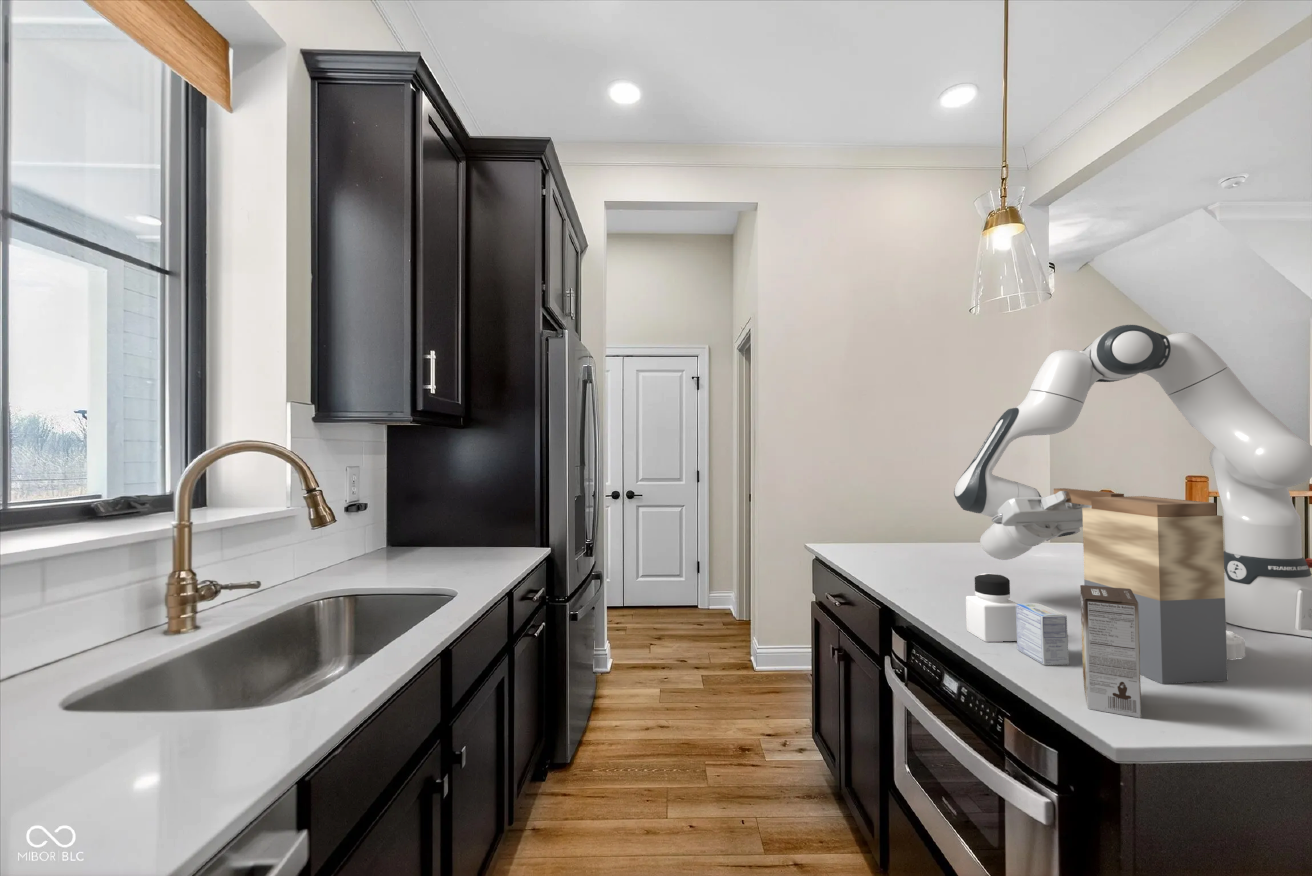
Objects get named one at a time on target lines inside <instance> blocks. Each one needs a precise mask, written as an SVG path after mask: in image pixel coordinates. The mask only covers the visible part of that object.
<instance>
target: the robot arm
mask: <svg viewBox="0 0 1312 876" xmlns="http://www.w3.org/2000/svg"><path fill="white" fill-rule="evenodd" d="M1139 374H1144V375H1147V376H1149V377H1151V378H1152V379H1153V380H1155V381H1156V382H1157V383H1158V385H1160V387H1161V389H1162V390H1163V392H1164V393H1165V394H1166V395H1167V397H1168V398H1169V399H1170V400H1171V402H1172V403H1173V404H1174V405H1175V407H1176V409H1178V411H1179V413H1181V414H1182V416H1183V417H1184V418H1185V420H1186V421H1187V422H1188V424H1189V425H1190V426H1191V427H1192V428H1194V429H1195V430H1196V431H1197V432H1198V433H1200V434H1201V435H1202V436H1204V438H1205V439H1206V440H1208V441H1209V442H1210V444H1212V445H1213V448H1212V449H1211V451H1210V453H1209V463H1210V466H1211V468H1212V469H1213V472H1214V476H1215V482H1216V487H1217V491H1218V495H1219V498H1220V503H1221V507H1222V513H1223V520H1224V521H1223V532H1224V547H1225V548H1224V581H1225V614H1226V623H1228V624H1231V625H1235V626H1239V627H1243V628H1247V629H1251V630H1252V629H1253V630H1258V631H1264V632H1270V633H1271V632H1272V633H1279V634H1288V635H1293V636H1294V635H1295V636H1301V637H1306V638H1307V637H1308V638H1312V571H1311V569H1312V558H1311V557H1307V558H1305V557H1304V556H1303V552H1302V551H1303V550H1302V549H1303V546H1302V545H1303V543H1302V541H1303V540H1302V520H1301V515H1300V514H1299V513H1298V512H1297V510H1296V508H1295V506H1294V504H1293V500H1292V497H1291V493H1290V490H1289V488H1292V487H1295V486H1298V485H1301V484H1303V483H1306V482H1308V481H1309V480H1310V479H1312V445H1311V444H1310V443H1308V442H1307V441H1306V440H1304V439H1303V438H1300V437H1299V436H1298V435H1297V434H1295V433H1294V432H1293V431H1292V430H1291V429H1290V428H1289V427H1288V426H1287V425H1286V424H1284V423H1283V422H1282V421H1281V420H1280V419H1279V418H1278V417H1276V415H1275V414H1273V413H1272V412H1271V411H1269V410H1268V409H1267V407H1265V406H1264V405H1262V403H1260V402H1259V401H1258V400H1257V399H1256V398H1255V396H1253V394H1252V393H1251V392H1250V391H1249V390H1248V389H1247V387H1246V386H1245V385H1244V384H1243V382H1242V381H1241V380H1240V379H1239V378H1238V376H1237V375H1236V374H1235V373H1234V371H1233V370H1232V369H1231V368H1230V366H1228V364H1227V363H1226V362H1225V361H1224V360H1223V359H1222V358H1221V356H1220V355H1219V354H1218V353H1217V352H1215V350H1214V349H1213V348H1211V346H1210V345H1208V344H1207V343H1206V342H1205V341H1204V340H1202V338H1200V337H1198V336H1197V335H1196V334H1193V333H1191V332H1186V331H1185V332H1183V331H1182V332H1175V333H1171V334H1167V335H1164V334H1162V333H1159V332H1157V331H1153V330H1152V329H1149V328H1148V327H1145V326H1142V325H1138V324H1123V325H1118V326H1116V327H1113V328H1111V329H1110V330H1108V331H1106V332H1103V333H1102V334H1101V335H1099V336H1098V337H1096V339H1094V340H1093V341H1092V342H1091V343H1090V344H1089V345H1088V346H1086V347H1085V348H1084V349H1082V350H1075V349H1071V348H1070V349H1066V348H1065V349H1059V350H1055V351H1053V352H1051V353H1050V354H1049V355H1047V357H1046V358H1045V360H1044V361H1043V363H1042V364H1041V366H1040V367H1039V370H1038V371H1037V373H1036V375H1035V377H1034V379H1033V381H1032V383H1031V386H1030V388H1029V390H1028V392H1027V395H1025V397H1024V399H1023V400H1022V402H1021V403H1019V404H1018V405H1017V406H1016V407H1013V408H1008V409H1007V410H1005V411H1004V412H1003V413H1002V415H1001V416H1000V417H999V418H998V419H997V421H996V423H995V424H994V426H992V428H991V430H990V432H989V433H988V435H987V437H986V438H985V439H984V441H983V443H982V445H980V448H979V450H978V451H977V453H976V454H975V456H974V458H973V459H972V461H971V462H970V464H969V465H968V466H967V468H966V469H965V471H964V472H963V473H962V474H961V475H960V477H959V479H958V480H957V481H956V483H955V487H954V490H953V496H954V499H955V501H956V502H957V504H958V505H959V506H960V508H961V509H962V510H963V511H967V512H970V513H974V514H975V513H976V514H980V515H984V516H988V517H990V518H991V522H992V523H991V525H989V527H987V529H986V530H985V531H984V532H983V533H982V534H981V536H980V537H979V538H980V539H979V544H980V546H981V548H982V549H983V551H984V552H985V553H986V554H987V555H989V556H990V557H992V558H994V559H997V560H1000V561H1007V560H1013V559H1016V558H1018V557H1020V556H1021V555H1024V554H1025V553H1027V552H1029V551H1030V550H1032V548H1033V547H1036V546H1038V545H1041V544H1042V543H1044V542H1046V541H1047V542H1048V541H1052V540H1053V539H1055V538H1056V539H1057V538H1061V537H1066V536H1071V535H1076V534H1078V533H1080V532H1081V528H1083V512H1082V508H1092V506H1091V505H1083V504H1075V503H1067V502H1066V501H1068V500H1070V498H1071V496H1070V495H1069V492H1068V491H1059V492H1058V493H1056V494H1054V493H1053V494H1050V495H1048V496H1042V495H1041V493H1040V492H1039V491H1038V489H1037V488H1035V487H1033V486H1029V485H1028V484H1024V483H1021V482H1017V481H1013V480H1010V479H1007V478H1004V477H1000V476H998V475H995V474H993V470H994V469H995V467H996V466H997V465H998V463H999V461H1000V459H1001V457H1002V456H1003V455H1004V453H1005V451H1006V450H1007V448H1008V447H1009V445H1010V444H1011V443H1012V442H1013V441H1014V440H1016V439H1019V438H1023V437H1030V436H1048V435H1055V434H1058V433H1062V432H1065V431H1066V430H1068V429H1070V428H1071V427H1073V426H1074V424H1075V423H1076V421H1077V419H1078V418H1079V416H1080V415H1081V412H1082V409H1083V407H1084V404H1085V402H1086V399H1087V396H1088V394H1089V391H1090V389H1092V387H1093V385H1094V384H1095V383H1111V382H1118V381H1122V380H1123V381H1124V380H1126V379H1130V378H1132V377H1135V376H1137V375H1139Z"/></svg>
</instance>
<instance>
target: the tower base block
mask: <svg viewBox="0 0 1312 876" xmlns="http://www.w3.org/2000/svg"><path fill="white" fill-rule="evenodd" d="M1083 579H1084V578H1083ZM1083 582H1084V584H1083V585H1088V586H1100V587H1109V586H1106V585H1102V584H1099V583H1095V582H1092V581H1088V580H1085V579H1084V581H1083ZM1112 588H1113V587H1112ZM1133 594H1134V593H1133ZM1134 596H1135V598H1136V600H1137V601H1138V603H1139V644H1140V676H1143V677H1144V678H1145V677H1146V678H1147V679H1150V680H1151V681H1155V682H1157V683H1159V684H1161V685H1167V684H1168V685H1169V684H1171V685H1172V684H1173V685H1174V684H1188V683H1187V682H1193V683H1204V682H1203V681H1212V682H1227V681H1228V659H1227V647H1226V630H1227V624H1226V623H1227V622H1226V614H1225V598H1216V599H1192V600H1167V601H1159V600H1155V599H1152V598H1148V597H1145V596H1141V595H1138V594H1134ZM1184 682H1186V683H1184Z"/></svg>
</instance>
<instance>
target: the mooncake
mask: <svg viewBox="0 0 1312 876" xmlns="http://www.w3.org/2000/svg"><path fill="white" fill-rule="evenodd" d="M1226 647H1227V658H1228V659H1233V660H1232V661H1235V660H1237V659H1236V658H1242V659H1243V658H1245V657H1246V640H1245V638H1243V636H1239V634H1237V633H1234V631H1230V630H1227V629H1226ZM1228 659H1227V660H1228Z"/></svg>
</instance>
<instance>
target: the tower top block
mask: <svg viewBox="0 0 1312 876" xmlns="http://www.w3.org/2000/svg"><path fill="white" fill-rule="evenodd" d="M1082 512H1083V527H1082V539H1083V540H1082V541H1083V543H1082V544H1083V548H1082V549H1083V579H1085V580H1088V581H1092V582H1095V583H1099V584H1102V585H1106V586H1109V587H1113V588H1126V589H1131V590H1132V592H1133V593H1134V594H1138V595H1141V596H1145V597H1148V598H1152V599H1155V600H1159V601H1167V600H1192V599H1216V598H1225V581H1224V574H1225V569H1224V551H1225V548H1224V521H1223V520H1224V515H1217V514H1216V516H1186V517H1151V516H1144V515H1136V514H1129V513H1121V512H1113V511H1106V510H1098V509H1092V508H1082Z"/></svg>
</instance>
